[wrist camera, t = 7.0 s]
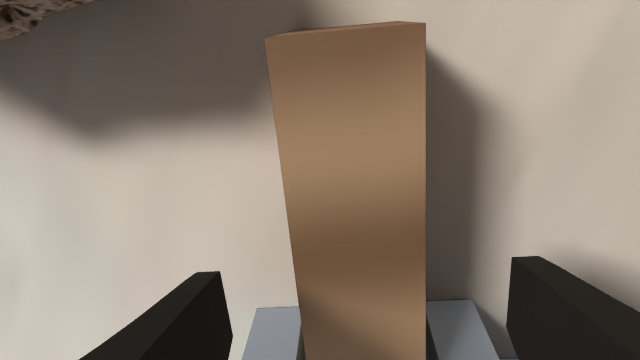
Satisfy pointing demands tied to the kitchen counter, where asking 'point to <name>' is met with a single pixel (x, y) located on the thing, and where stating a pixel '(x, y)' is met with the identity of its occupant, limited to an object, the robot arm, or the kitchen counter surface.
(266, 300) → the kitchen counter surface
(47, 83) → the kitchen counter surface
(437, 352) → the blue-grey stepped platform
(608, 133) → the kitchen counter surface
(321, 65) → the brown block
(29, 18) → the coral
